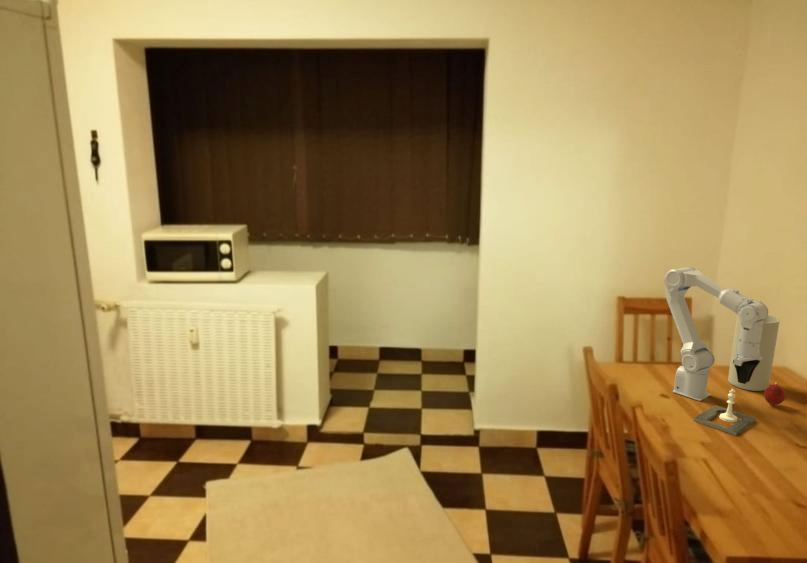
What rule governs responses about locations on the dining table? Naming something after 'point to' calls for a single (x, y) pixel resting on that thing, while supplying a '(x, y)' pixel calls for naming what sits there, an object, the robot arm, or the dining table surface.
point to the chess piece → (729, 409)
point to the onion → (774, 394)
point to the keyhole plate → (733, 429)
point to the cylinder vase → (767, 349)
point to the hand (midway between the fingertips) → (743, 381)
